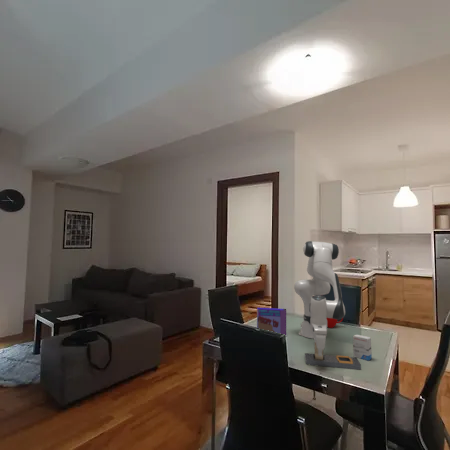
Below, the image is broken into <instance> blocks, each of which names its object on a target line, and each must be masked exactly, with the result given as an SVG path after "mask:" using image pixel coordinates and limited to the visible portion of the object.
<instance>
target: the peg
mask: <svg viewBox="0 0 450 450" xmlns="http://www.w3.org/2000/svg"><path fill="white" fill-rule="evenodd" d="M314 354H315V359H321V360H323V355H324V350H323V349H322V356H319V355H318V349H317V346H316V343H315V342H314Z"/></svg>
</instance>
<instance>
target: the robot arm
mask: <svg viewBox="0 0 450 450" xmlns="http://www.w3.org/2000/svg"><path fill="white" fill-rule="evenodd" d="M302 250H303V254H304V256H305V257H308V263H307V268H306V271H307V274H308V275H309V276H311V277H312V278H311V279H300V280H296V281H295V283H294V285H293V289H294V292H295V293H296V294H297V295H298V296H299V297H300V299H301V300H302V302H303V321H302V322H301V323H300V330H299V332H298V336H301V337H305V338H309V339H314V344H315V343H316V346H317V349H318V355H319V356H322V349H323V351H324V350H325V348H326V341H327V339H326V338H327V334H328V328H327V318H333V319H337V321H341V320H342V318H343V319H344V317H346V316H345V315H346V307H345V305H344V302H343V300H344V299H343V295H342V287H341V284H340V279H339V276H338V273H336V272H335V271H334V269H333V261H334V260H336V259H337V258H338V256H339V255H340V254H339V253H340V250H339V246H338V245H337V244H335V243H330V242H325V241H312V240H310V241H309V240H308V241H306V242H305V243H304V245H303V248H302ZM331 286H332V289H333V290H332V291H333V295H334V300H328V299H327V298H326V296H325V295H328V294H329V293H330V292H331Z"/></svg>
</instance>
